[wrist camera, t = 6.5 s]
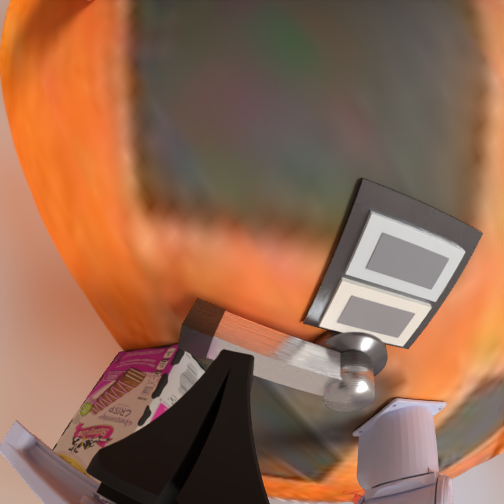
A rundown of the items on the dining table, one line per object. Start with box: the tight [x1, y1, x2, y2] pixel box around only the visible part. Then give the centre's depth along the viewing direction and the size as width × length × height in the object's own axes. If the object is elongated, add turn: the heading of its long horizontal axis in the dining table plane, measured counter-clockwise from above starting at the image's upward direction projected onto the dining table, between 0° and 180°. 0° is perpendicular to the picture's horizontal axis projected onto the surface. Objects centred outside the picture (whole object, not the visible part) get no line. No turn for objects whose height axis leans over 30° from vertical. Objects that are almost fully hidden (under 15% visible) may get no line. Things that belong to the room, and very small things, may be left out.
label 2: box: [319, 277, 432, 347], centre depth 16 cm, size 4×7×1 cm, turn 78°
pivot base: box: [314, 331, 387, 376], centre depth 19 cm, size 6×6×1 cm
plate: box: [303, 178, 483, 349], centre depth 15 cm, size 10×9×1 cm
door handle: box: [178, 298, 375, 412], centre depth 17 cm, size 14×4×3 cm, turn 72°
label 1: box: [345, 211, 465, 302], centre depth 14 cm, size 4×7×1 cm, turn 78°
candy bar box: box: [53, 344, 207, 504], centre depth 19 cm, size 11×5×16 cm, turn 118°
